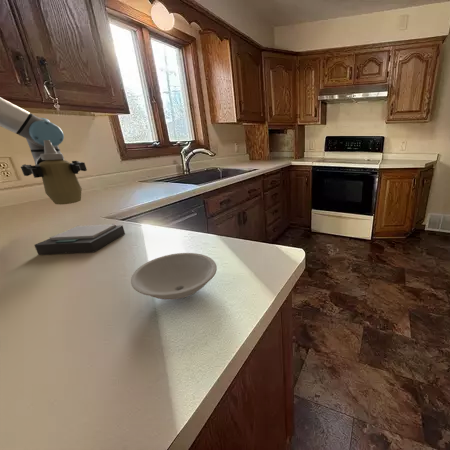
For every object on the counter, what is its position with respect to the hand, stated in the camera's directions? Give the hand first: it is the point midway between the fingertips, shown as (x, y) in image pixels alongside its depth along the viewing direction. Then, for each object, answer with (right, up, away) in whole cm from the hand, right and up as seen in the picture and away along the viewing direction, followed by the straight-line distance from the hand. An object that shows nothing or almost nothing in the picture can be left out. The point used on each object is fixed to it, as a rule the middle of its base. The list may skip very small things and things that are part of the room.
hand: (58, 170), depth 68 cm
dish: (+43, -29, -19) cm, 55 cm away
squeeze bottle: (-3, -9, +7) cm, 11 cm away
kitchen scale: (+2, -21, +7) cm, 22 cm away
